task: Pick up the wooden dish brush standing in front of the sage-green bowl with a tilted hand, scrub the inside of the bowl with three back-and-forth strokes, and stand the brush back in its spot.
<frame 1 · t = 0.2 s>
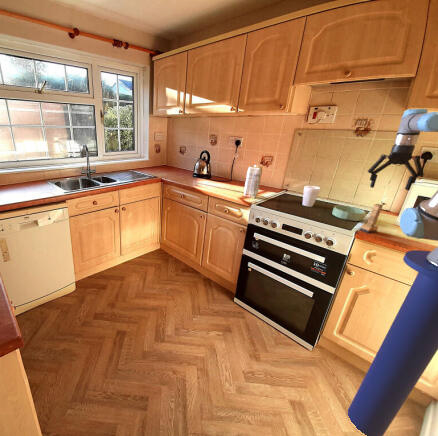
hand: (388, 188, 123), 23 cm above the countertop, tool pointing down, fingers open, 13 cm apart
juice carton: (250, 196, 187), on the countertop
dish brush: (368, 231, 130), on the countertop
foam cup: (307, 205, 171), on the countertop
bowl: (346, 216, 150), on the countertop
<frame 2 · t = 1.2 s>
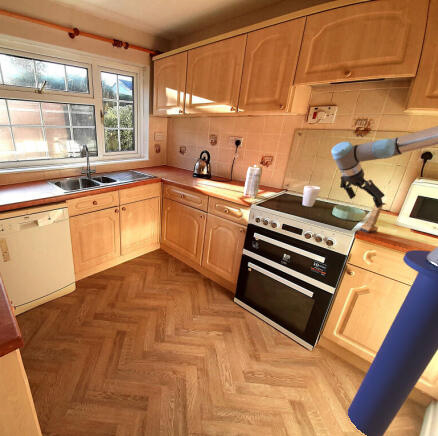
hand: (365, 201, 122), 17 cm above the countertop, tool tilted 45°, fingers open, 13 cm apart
nothing on the countertop moved.
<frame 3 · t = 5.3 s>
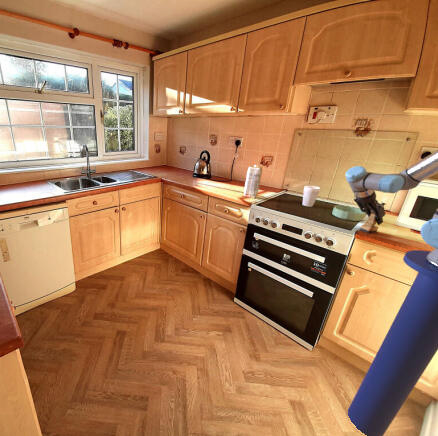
hand: (377, 221, 129), 5 cm above the countertop, tool tilted 45°, fingers closed on dish brush, 2 cm apart
dish brush: (368, 231, 130), on the countertop, touching gripper
everything else where it was.
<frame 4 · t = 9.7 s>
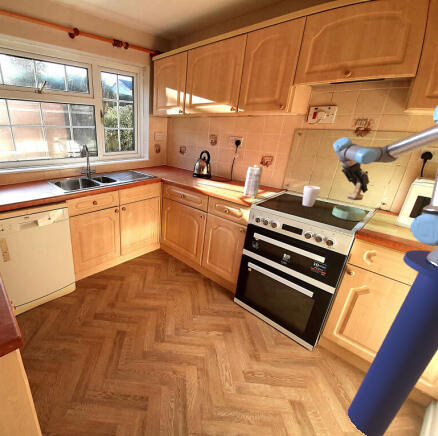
hand: (362, 190, 143), 17 cm above the countertop, tool tilted 45°, fingers closed on dish brush, 2 cm apart
dish brush: (354, 199, 145), point 12 cm above the countertop, touching gripper
everything else where it was.
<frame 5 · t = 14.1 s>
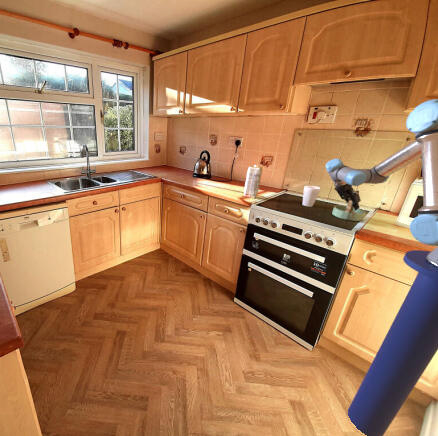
hand: (354, 207, 149), 6 cm above the countertop, tool tilted 45°, fingers closed on dish brush, 2 cm apart
dish brush: (347, 215, 150), point 1 cm above the countertop, touching gripper
everything else where it was.
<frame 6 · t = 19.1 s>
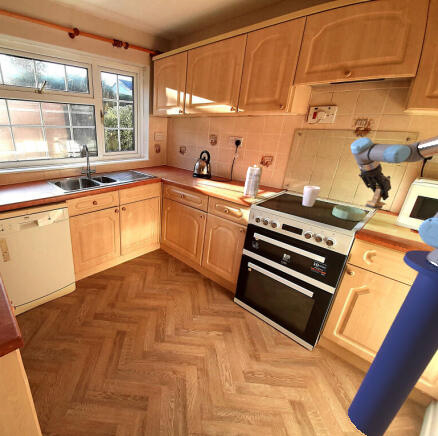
hand: (382, 197, 127), 18 cm above the countertop, tool tilted 45°, fingers closed on dish brush, 2 cm apart
dish brush: (373, 207, 128), point 13 cm above the countertop, touching gripper
everything else where it was.
when the fingers open (5 cm above the countertop, at t = 23.0 s): dish brush stays where it is, on the countertop.
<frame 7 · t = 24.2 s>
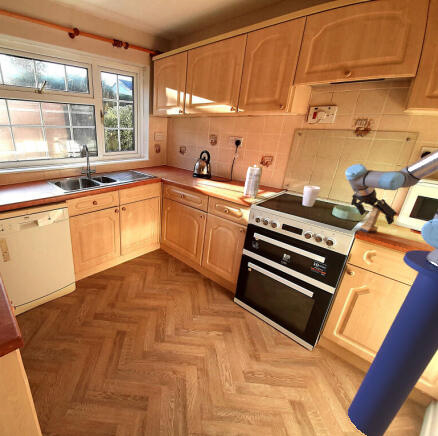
hand: (376, 217, 128), 8 cm above the countertop, tool tilted 45°, fingers open, 13 cm apart
dish brush: (367, 231, 130), on the countertop
everything else where it was.
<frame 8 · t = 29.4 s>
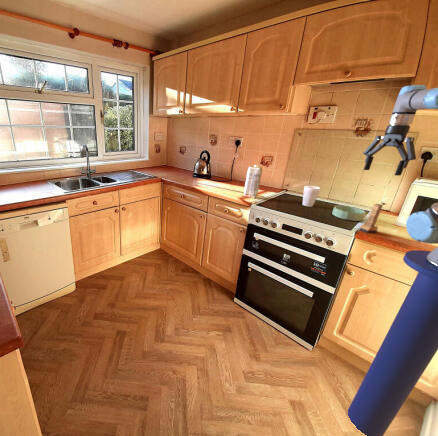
hand: (381, 172, 116), 32 cm above the countertop, tool pointing down, fingers open, 13 cm apart
nothing on the countertop moved.
at the end: dish brush inside the target area on the countertop beside the bowl (0.1 cm from its centre), on the countertop; dish brush tilted 0°; the gripper is holding nothing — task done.
